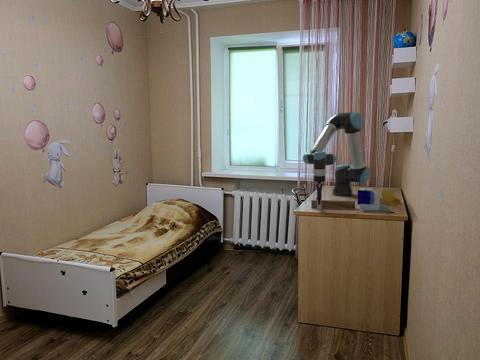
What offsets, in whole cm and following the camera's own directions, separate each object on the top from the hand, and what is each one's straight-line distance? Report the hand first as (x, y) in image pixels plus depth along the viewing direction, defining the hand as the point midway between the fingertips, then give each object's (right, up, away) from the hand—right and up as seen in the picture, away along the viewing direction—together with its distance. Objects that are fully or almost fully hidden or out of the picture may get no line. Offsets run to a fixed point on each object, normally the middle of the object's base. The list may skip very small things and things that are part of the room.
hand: (318, 207), depth 267 cm
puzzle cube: (+35, +2, +11) cm, 36 cm away
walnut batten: (+9, -1, -1) cm, 9 cm away
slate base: (+34, -1, -8) cm, 35 cm away
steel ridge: (+34, +1, -8) cm, 35 cm away
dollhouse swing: (+51, +1, +10) cm, 52 cm away
